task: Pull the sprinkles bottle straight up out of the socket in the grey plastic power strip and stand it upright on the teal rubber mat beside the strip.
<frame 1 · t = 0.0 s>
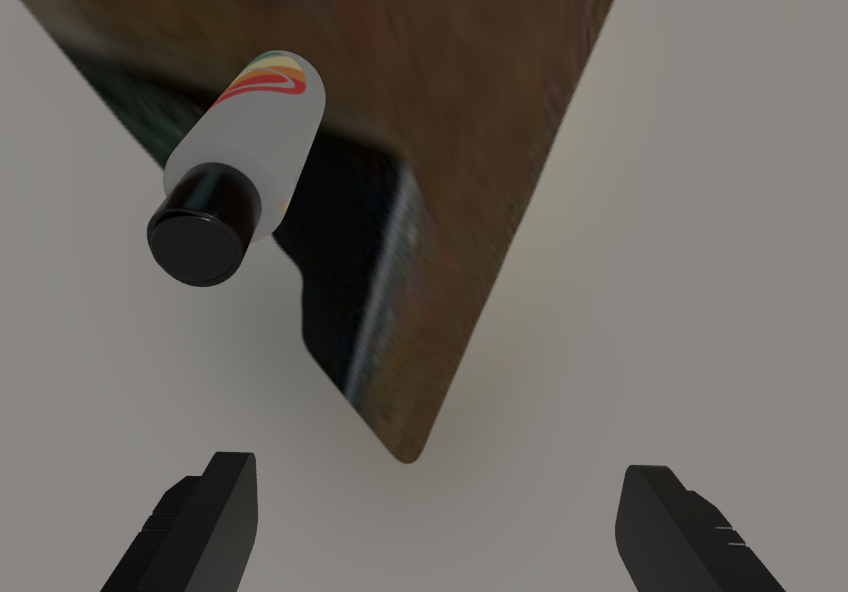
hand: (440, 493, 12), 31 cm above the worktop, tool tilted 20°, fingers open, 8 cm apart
lotion bottle: (286, 91, 37), on the worktop
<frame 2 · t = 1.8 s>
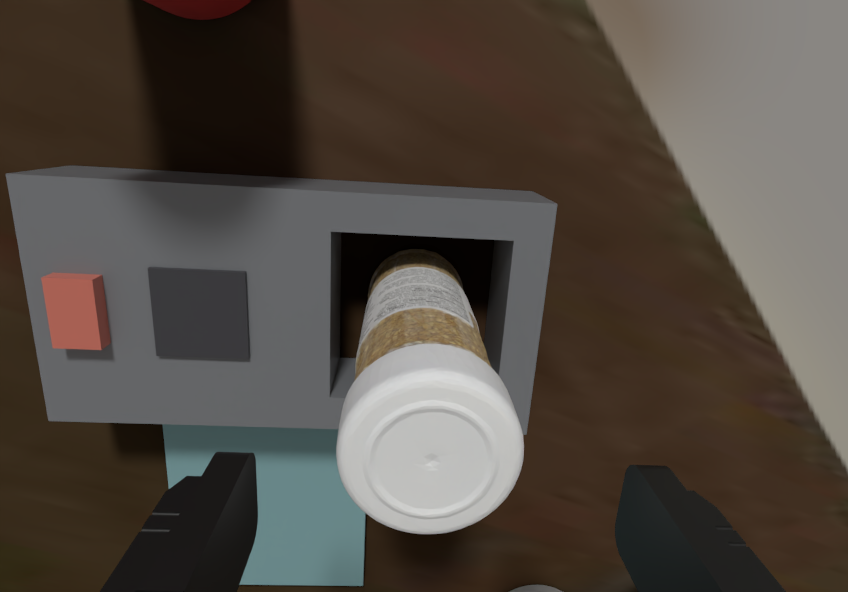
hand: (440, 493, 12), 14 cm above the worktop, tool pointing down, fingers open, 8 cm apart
sprinkles bottle: (415, 291, 25), resting in power strip
mat: (271, 501, 28), on the worktop
power strip: (308, 287, 25), on the worktop
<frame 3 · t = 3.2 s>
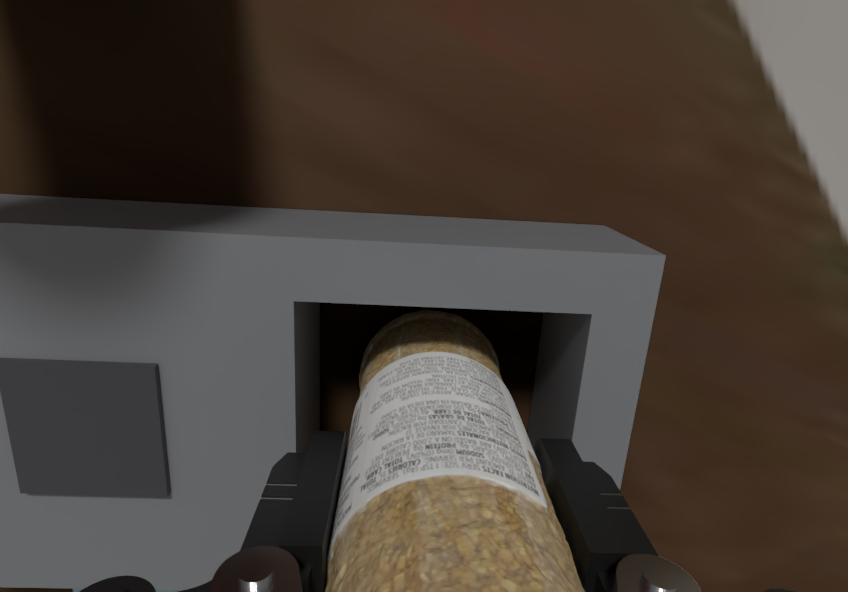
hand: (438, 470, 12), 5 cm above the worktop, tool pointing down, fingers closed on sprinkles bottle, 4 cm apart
sprinkles bottle: (428, 367, 18), resting in power strip, touching gripper
power strip: (272, 364, 17), on the worktop
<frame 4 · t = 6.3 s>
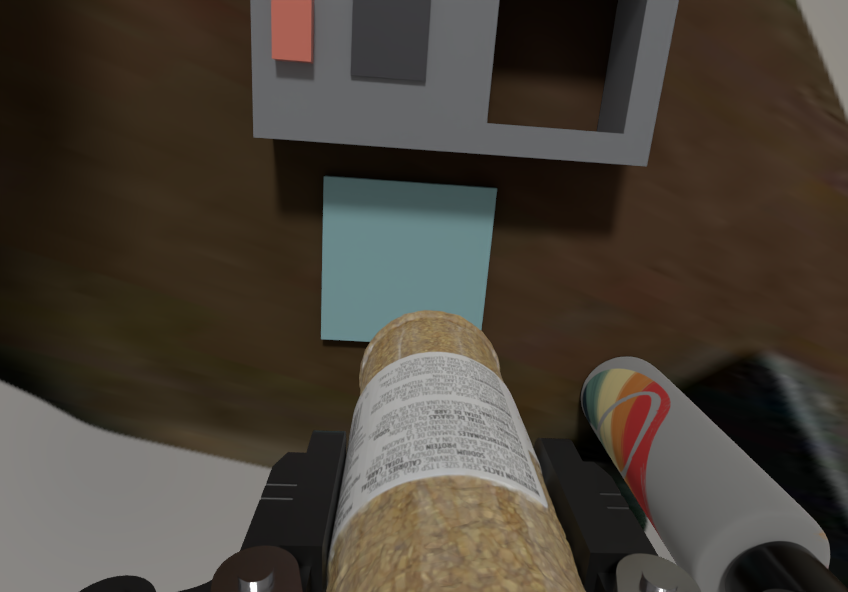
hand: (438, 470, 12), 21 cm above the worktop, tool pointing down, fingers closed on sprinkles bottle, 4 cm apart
sprinkles bottle: (428, 367, 18), point 16 cm above the worktop, touching gripper
lotion bottle: (619, 391, 36), on the worktop
mat: (405, 264, 33), on the worktop
power strip: (455, 54, 29), on the worktop
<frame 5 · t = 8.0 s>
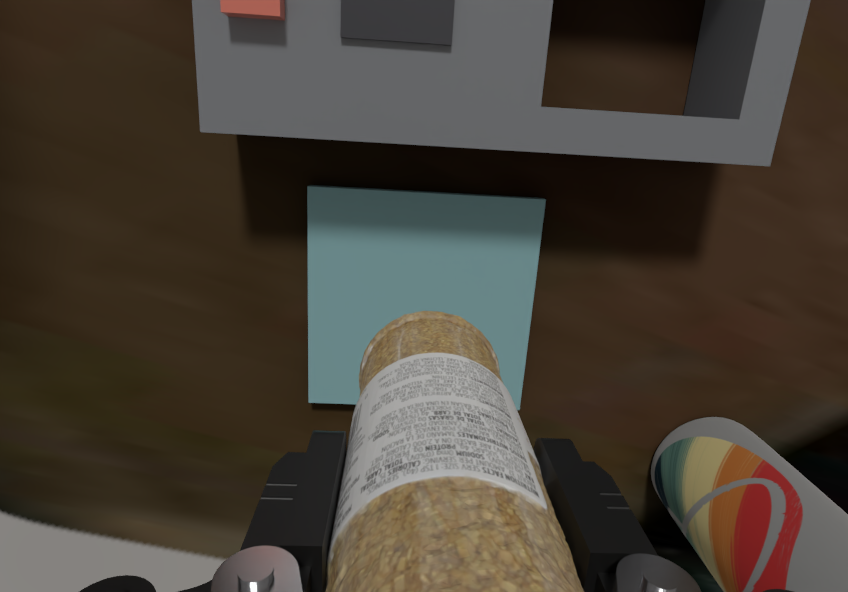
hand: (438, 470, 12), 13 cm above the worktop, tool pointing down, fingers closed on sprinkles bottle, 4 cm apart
sprinkles bottle: (428, 368, 18), point 7 cm above the worktop, touching gripper
lotion bottle: (700, 460, 28), on the worktop
mat: (420, 302, 24), on the worktop
power strip: (489, 13, 21), on the worktop
when the fingers open (7 cm above the worktop, at t = 9.4 s): sprinkles bottle drops 1 cm, resting on mat.
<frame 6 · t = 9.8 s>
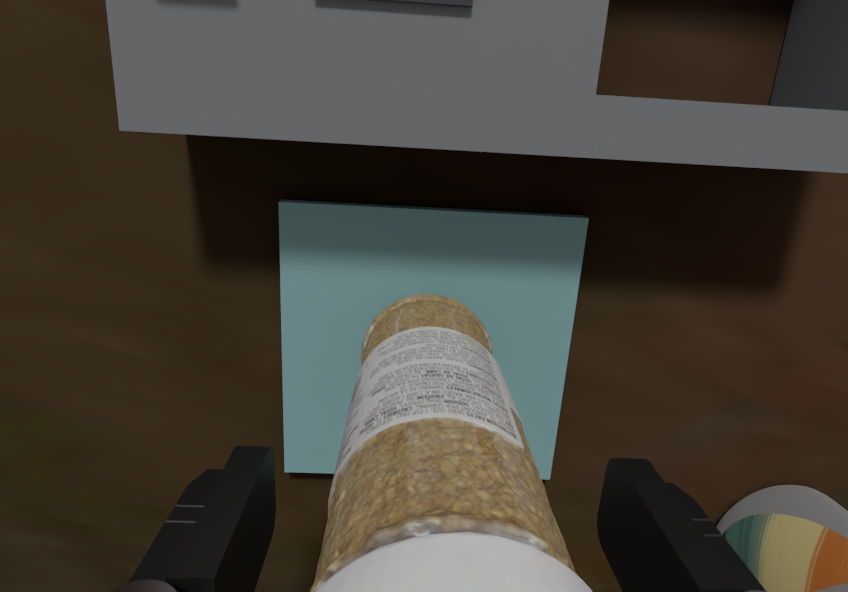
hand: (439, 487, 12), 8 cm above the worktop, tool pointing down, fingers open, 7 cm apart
sprinkles bottle: (425, 349, 19), resting on mat
lotion bottle: (769, 534, 23), on the worktop
mat: (426, 346, 19), on the worktop
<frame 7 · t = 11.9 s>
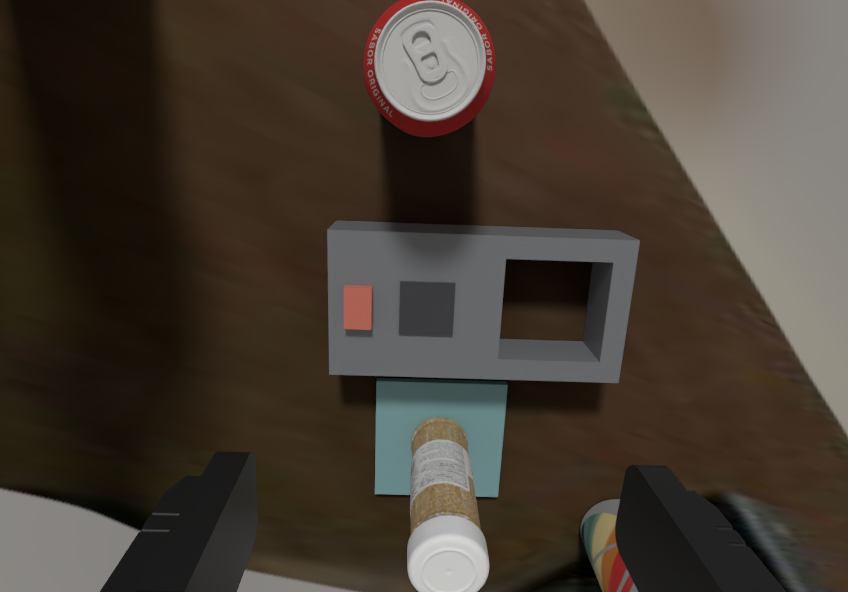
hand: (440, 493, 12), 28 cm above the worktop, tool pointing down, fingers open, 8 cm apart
sprinkles bottle: (438, 438, 42), resting on mat
lotion bottle: (611, 524, 45), on the worktop
beverage can: (426, 88, 36), on the worktop
mat: (439, 437, 43), on the worktop
power strip: (473, 293, 39), on the worktop
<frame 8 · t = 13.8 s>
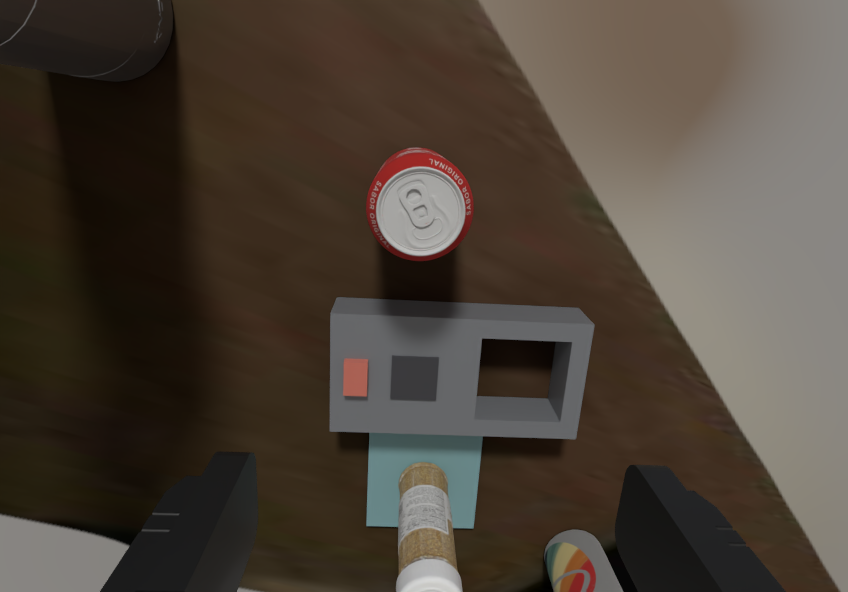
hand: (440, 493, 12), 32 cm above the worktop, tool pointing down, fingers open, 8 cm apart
sprinkles bottle: (422, 479, 49), resting on mat
lotion bottle: (571, 550, 52), on the worktop
beverage can: (416, 189, 41), on the worktop
mat: (423, 477, 49), on the worktop
power strip: (454, 358, 46), on the worktop
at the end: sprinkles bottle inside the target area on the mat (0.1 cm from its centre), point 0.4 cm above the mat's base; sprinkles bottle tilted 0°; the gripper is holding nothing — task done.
